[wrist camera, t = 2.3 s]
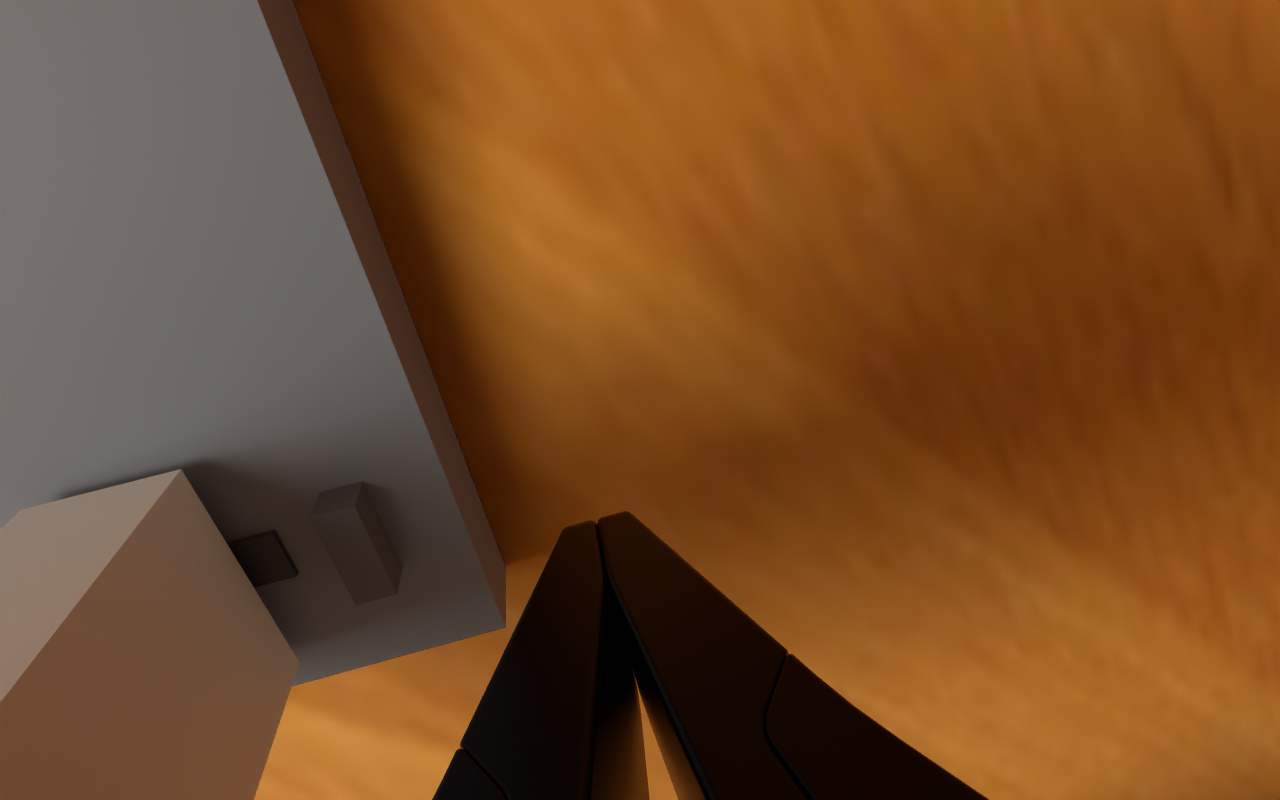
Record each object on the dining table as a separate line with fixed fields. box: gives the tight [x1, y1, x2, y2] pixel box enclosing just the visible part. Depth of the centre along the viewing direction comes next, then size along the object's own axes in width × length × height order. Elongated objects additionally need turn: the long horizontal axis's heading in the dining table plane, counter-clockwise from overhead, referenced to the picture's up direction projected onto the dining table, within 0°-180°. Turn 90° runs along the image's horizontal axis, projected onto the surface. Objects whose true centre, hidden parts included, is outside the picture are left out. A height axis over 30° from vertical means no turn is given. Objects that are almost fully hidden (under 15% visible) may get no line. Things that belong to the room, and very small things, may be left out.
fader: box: [0, 469, 300, 800], centre depth 8 cm, size 4×2×4 cm, turn 11°
